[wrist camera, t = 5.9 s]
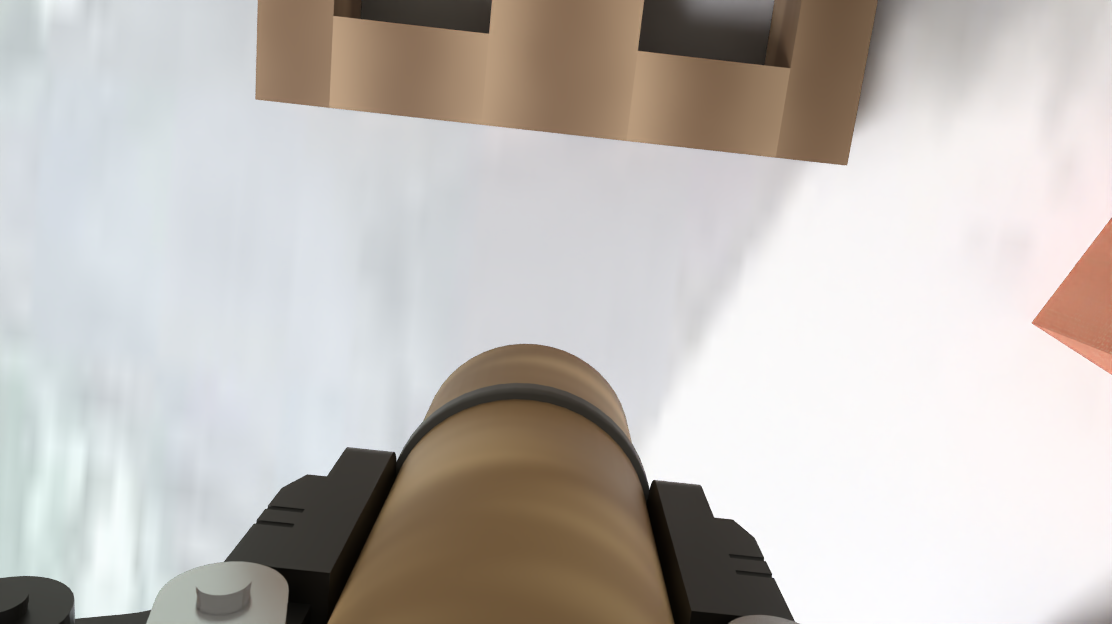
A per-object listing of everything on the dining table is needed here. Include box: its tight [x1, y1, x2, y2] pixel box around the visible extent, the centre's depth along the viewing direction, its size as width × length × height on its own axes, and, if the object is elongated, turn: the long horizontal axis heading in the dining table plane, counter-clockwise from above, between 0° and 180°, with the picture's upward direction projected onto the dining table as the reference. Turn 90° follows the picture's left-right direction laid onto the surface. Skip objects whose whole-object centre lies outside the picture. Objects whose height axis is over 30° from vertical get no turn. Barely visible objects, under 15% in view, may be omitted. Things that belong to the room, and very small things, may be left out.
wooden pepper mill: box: [327, 344, 675, 624], centre depth 11 cm, size 4×4×12 cm
